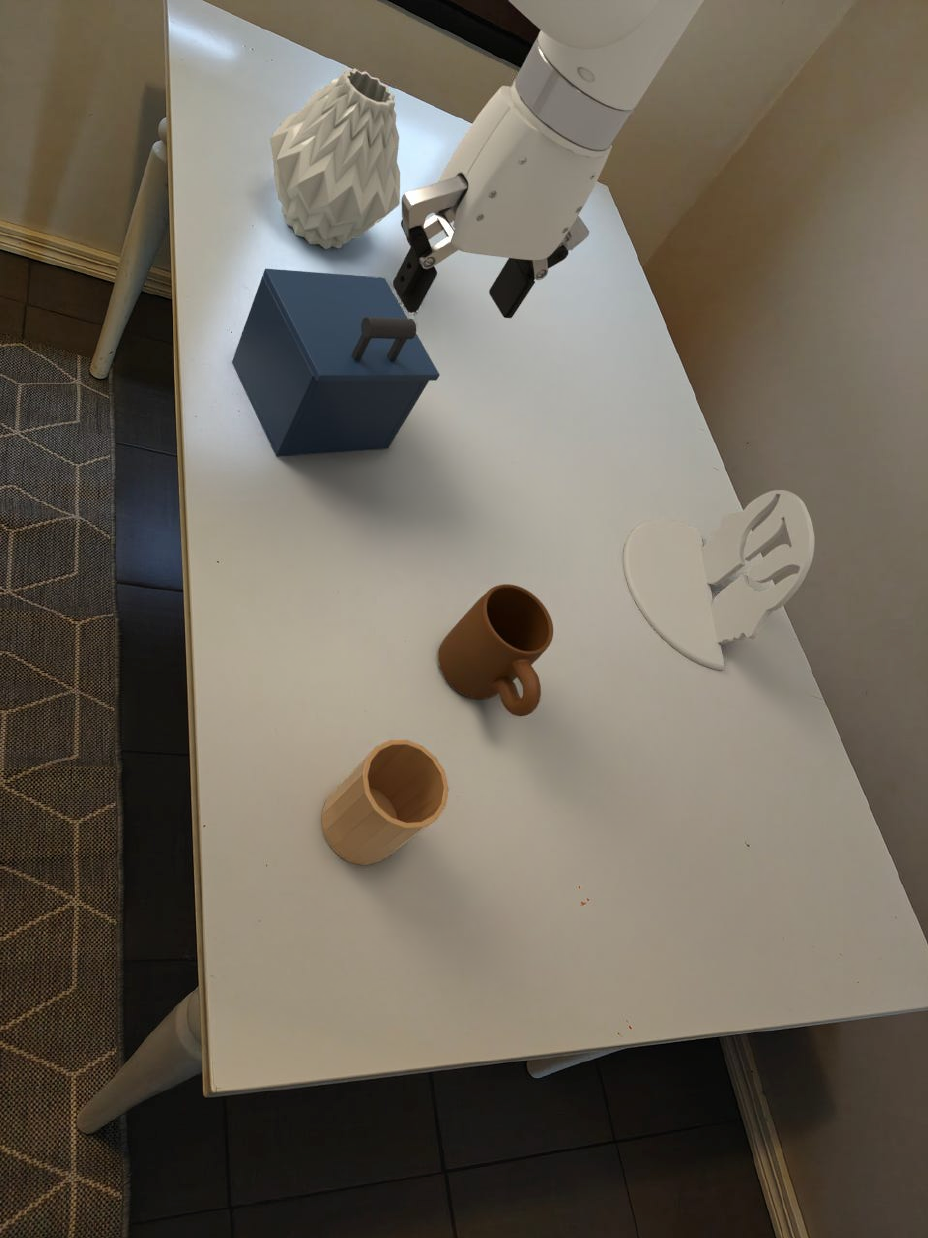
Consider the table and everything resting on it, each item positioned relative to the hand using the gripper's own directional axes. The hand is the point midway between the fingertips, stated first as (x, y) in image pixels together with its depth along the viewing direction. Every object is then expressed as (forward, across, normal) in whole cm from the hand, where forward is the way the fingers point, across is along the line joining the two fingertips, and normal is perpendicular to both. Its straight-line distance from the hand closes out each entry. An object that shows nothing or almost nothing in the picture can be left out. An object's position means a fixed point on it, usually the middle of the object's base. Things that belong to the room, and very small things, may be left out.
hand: (453, 302), depth 68 cm
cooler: (+25, -2, -12) cm, 28 cm away
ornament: (+25, -39, +17) cm, 49 cm away
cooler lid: (+14, -2, -12) cm, 18 cm away
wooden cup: (+25, +12, +32) cm, 42 cm away
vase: (+26, -14, -41) cm, 51 cm away
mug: (+26, -4, +23) cm, 35 cm away
